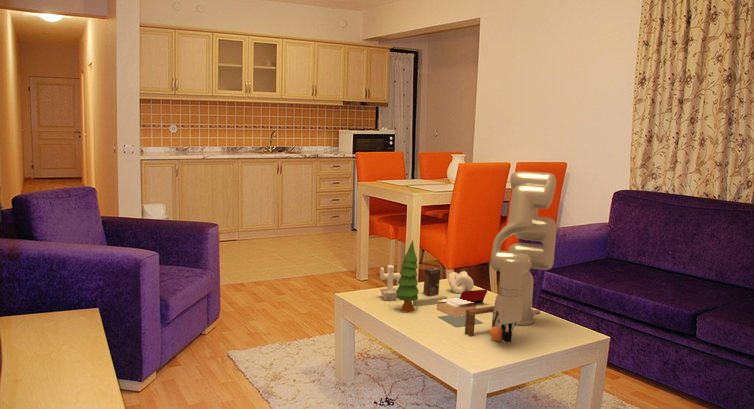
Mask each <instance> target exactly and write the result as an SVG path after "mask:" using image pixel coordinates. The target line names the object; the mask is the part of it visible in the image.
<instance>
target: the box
mask: <svg viewBox="0 0 754 409" xmlns="http://www.w3.org/2000/svg"><path fill="white" fill-rule="evenodd" d="M440 281H441V269H440V268H437V267H429V268H428V267H427V268H425V269H424V280H423V290H422V291H423V295H424V296H427V297H432V296H439V291H440Z"/></svg>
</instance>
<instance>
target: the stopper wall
mask: <svg viewBox="0 0 754 409" xmlns="http://www.w3.org/2000/svg"><path fill="white" fill-rule="evenodd" d="M442 299H447V300H448V297H447V296H446V295H441V296H439V295H438V296H434V297H432V296H430V297H425V298H424V297H423V298H418V300H415V301H412V304H413V307H414V308H415V307H423V306H424V307H425V306H430V305H437V304H436V303H437V301H438V300H442Z"/></svg>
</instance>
